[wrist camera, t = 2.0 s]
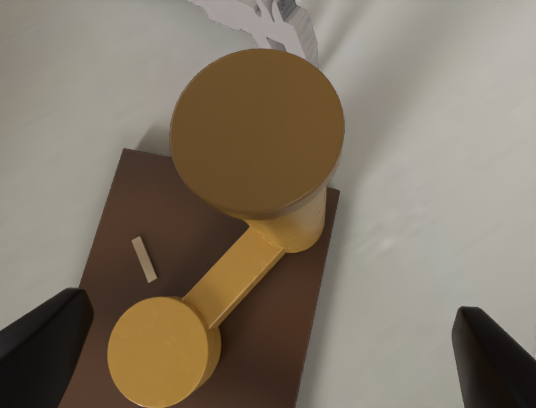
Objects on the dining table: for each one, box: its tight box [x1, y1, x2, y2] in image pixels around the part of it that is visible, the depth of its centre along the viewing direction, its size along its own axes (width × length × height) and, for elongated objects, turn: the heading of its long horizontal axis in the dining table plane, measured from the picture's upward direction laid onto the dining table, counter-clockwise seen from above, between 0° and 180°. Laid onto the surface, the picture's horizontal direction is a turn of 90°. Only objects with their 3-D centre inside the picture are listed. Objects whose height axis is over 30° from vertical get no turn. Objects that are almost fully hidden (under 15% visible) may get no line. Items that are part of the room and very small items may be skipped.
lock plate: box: [58, 148, 340, 408], centre depth 19 cm, size 18×12×1 cm, turn 166°
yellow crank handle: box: [108, 48, 345, 408], centre depth 13 cm, size 12×4×11 cm, turn 136°
